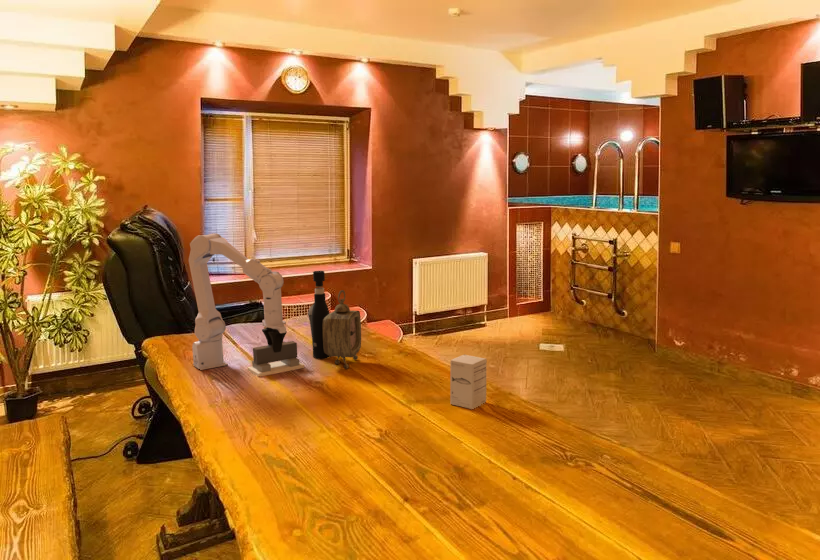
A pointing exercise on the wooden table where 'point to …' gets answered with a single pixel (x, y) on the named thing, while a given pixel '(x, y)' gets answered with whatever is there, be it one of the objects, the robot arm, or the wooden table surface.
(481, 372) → the supplement box
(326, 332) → the tabletop clock
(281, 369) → the stand
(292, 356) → the handle bar
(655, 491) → the wooden table surface
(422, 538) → the wooden table surface
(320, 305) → the wine bottle
